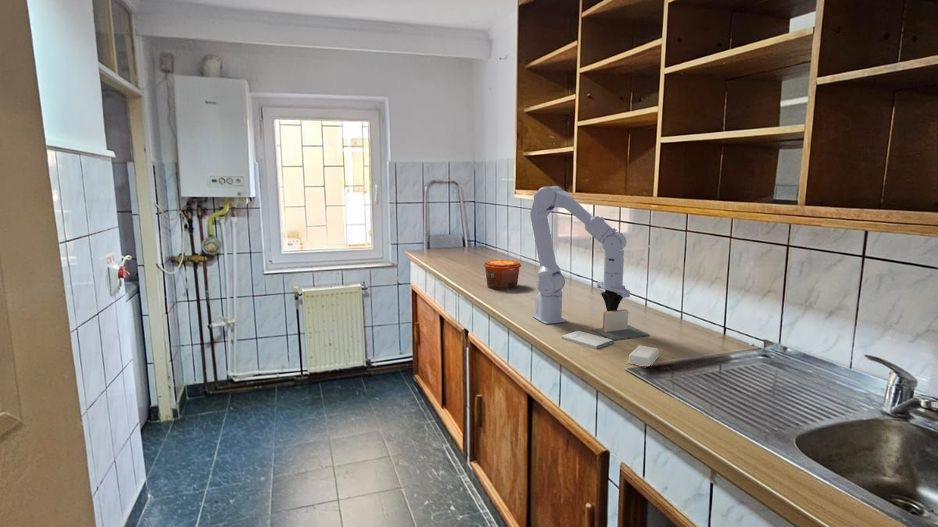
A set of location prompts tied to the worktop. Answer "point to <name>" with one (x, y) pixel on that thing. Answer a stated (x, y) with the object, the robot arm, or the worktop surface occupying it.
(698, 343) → the worktop surface
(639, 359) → the soap
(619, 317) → the tile
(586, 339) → the external hard drive
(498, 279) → the food container
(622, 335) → the mat
